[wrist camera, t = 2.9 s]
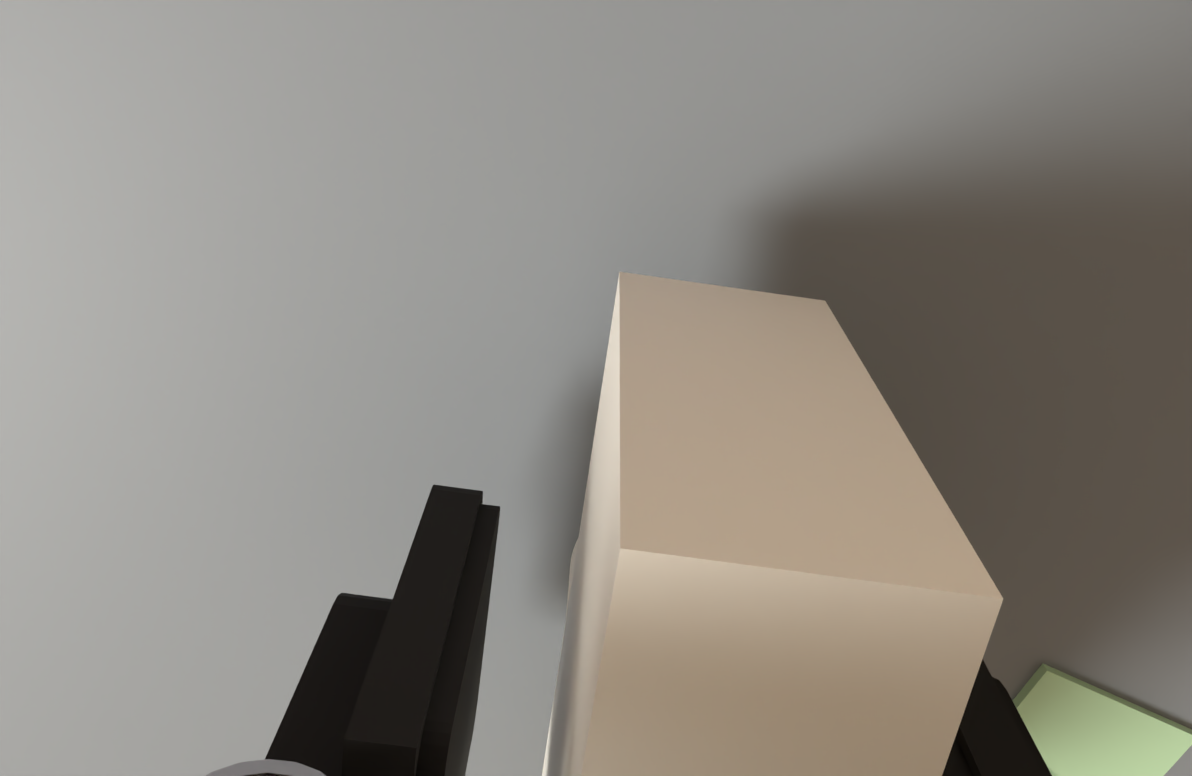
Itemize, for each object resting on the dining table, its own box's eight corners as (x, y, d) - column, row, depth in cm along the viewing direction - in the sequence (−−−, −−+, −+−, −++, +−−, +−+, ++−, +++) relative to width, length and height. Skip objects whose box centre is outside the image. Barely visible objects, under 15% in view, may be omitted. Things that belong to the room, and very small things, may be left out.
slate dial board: (-187, -410, 11) (-322, -472, 9) (1691, -109, 11) (1861, -119, 10) (-25, 884, 17) (-86, 972, 16) (1131, 1019, 18) (1179, 1116, 17)
